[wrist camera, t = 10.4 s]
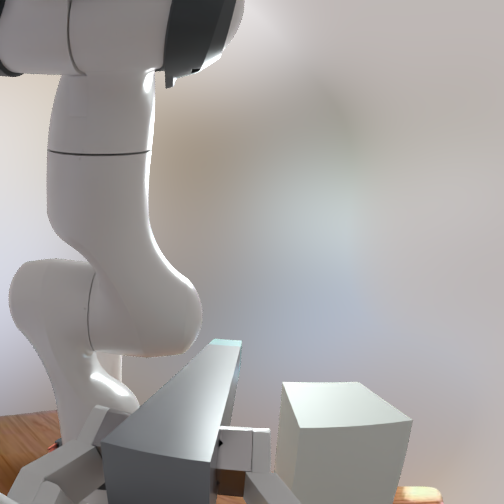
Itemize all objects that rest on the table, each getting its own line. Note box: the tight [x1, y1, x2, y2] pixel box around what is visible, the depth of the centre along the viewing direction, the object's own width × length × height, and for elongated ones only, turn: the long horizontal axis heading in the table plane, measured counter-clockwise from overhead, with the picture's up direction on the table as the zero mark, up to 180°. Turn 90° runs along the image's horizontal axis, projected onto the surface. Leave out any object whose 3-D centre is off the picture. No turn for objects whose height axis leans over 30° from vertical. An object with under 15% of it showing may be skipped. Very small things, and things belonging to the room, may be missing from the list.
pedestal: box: [274, 382, 413, 504], centre depth 28 cm, size 10×16×26 cm, turn 0°
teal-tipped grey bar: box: [100, 339, 242, 504], centre depth 17 cm, size 2×23×2 cm, turn 0°
